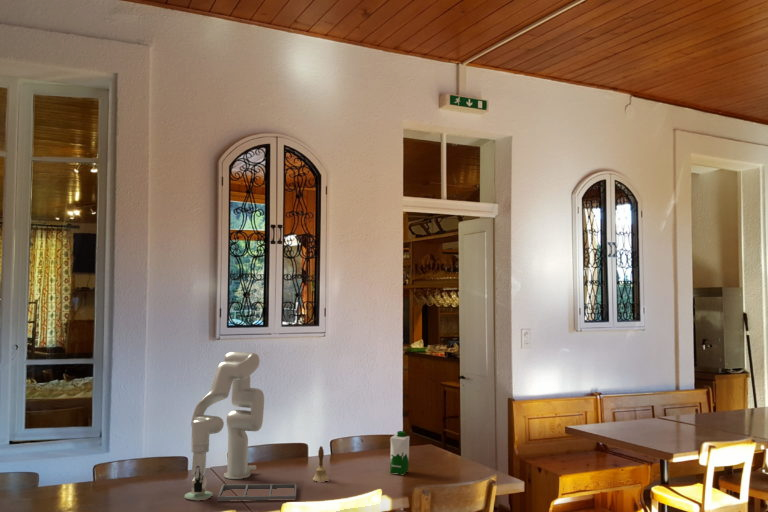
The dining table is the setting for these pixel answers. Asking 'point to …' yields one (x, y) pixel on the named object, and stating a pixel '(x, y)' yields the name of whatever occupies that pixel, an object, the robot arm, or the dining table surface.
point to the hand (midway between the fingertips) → (199, 489)
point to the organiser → (255, 486)
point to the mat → (198, 495)
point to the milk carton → (399, 453)
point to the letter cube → (204, 481)
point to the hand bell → (320, 468)
